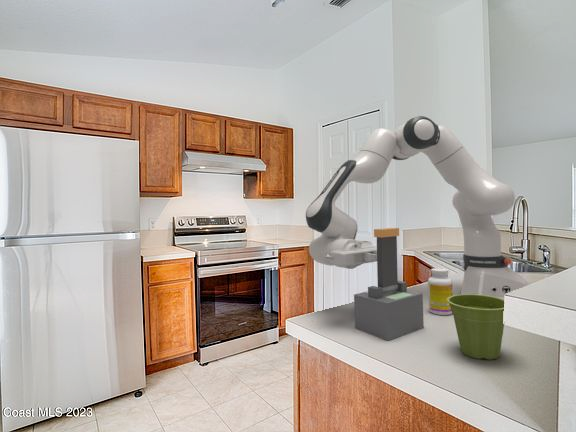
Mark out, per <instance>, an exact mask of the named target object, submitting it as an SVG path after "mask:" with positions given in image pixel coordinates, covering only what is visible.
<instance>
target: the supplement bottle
mask: <svg viewBox="0 0 576 432" xmlns="http://www.w3.org/2000/svg"><path fill="white" fill-rule="evenodd" d="M430 274H431V277H429V278H428V280H427V292H428V293H427V295H428V296H427V297H428V298H427V300H428V311H429V312H430V313H432V314H434V315H438V316H448V315H449V316H450V315H453V313H452V311H451V307H450V303H448V302H447V298H448V297H450V296H453V295H454V294H453V280H452V279H451V278H449V277H448V275H449V270H448V269H447V268H437V267H435V268H434V267H433V268H430Z"/></svg>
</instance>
